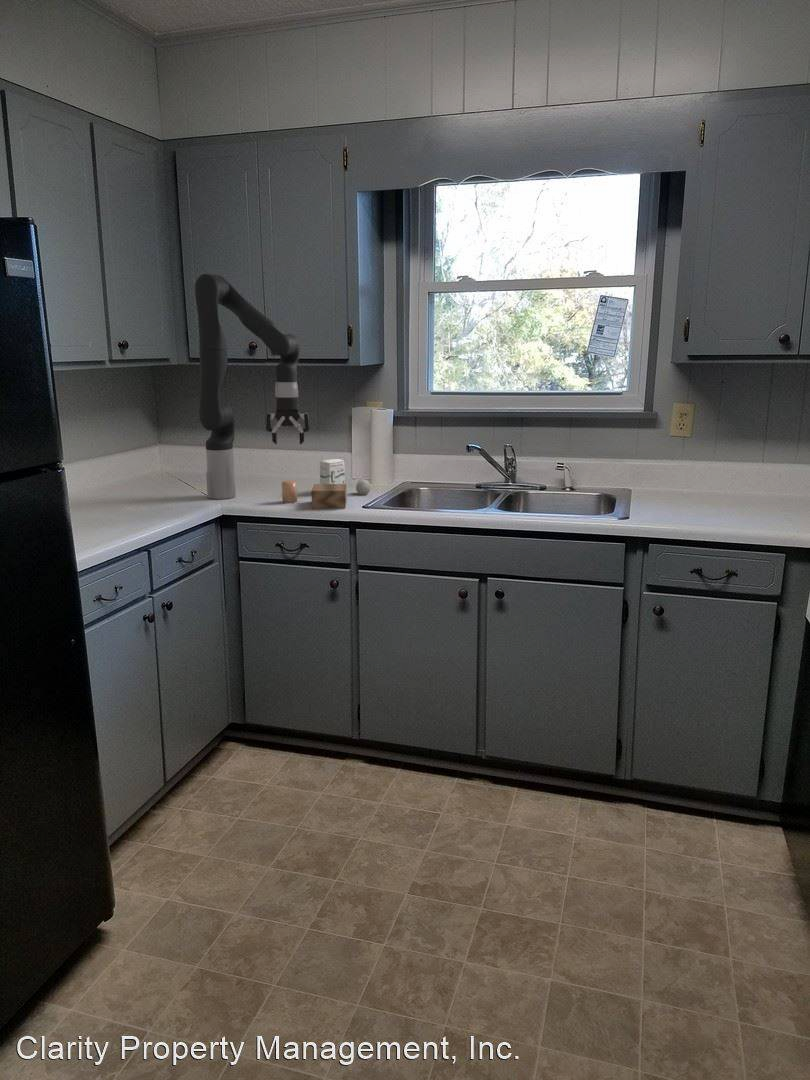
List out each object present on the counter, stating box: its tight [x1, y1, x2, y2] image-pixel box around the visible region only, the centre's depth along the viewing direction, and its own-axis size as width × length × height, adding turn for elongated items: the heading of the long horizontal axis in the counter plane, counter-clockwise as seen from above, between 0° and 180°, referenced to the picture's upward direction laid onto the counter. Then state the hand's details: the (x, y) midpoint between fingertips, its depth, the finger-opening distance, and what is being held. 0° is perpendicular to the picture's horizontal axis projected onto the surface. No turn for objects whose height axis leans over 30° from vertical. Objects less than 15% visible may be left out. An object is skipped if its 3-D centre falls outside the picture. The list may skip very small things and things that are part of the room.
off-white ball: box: [355, 478, 371, 496], centre depth 287 cm, size 5×5×5 cm
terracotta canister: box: [281, 480, 298, 504], centre depth 274 cm, size 5×5×7 cm
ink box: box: [319, 458, 346, 484], centre depth 289 cm, size 9×5×12 cm, turn 143°
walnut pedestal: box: [310, 483, 348, 510], centre depth 269 cm, size 11×12×6 cm
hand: (288, 443), depth 270 cm, fingers open, 8 cm apart
